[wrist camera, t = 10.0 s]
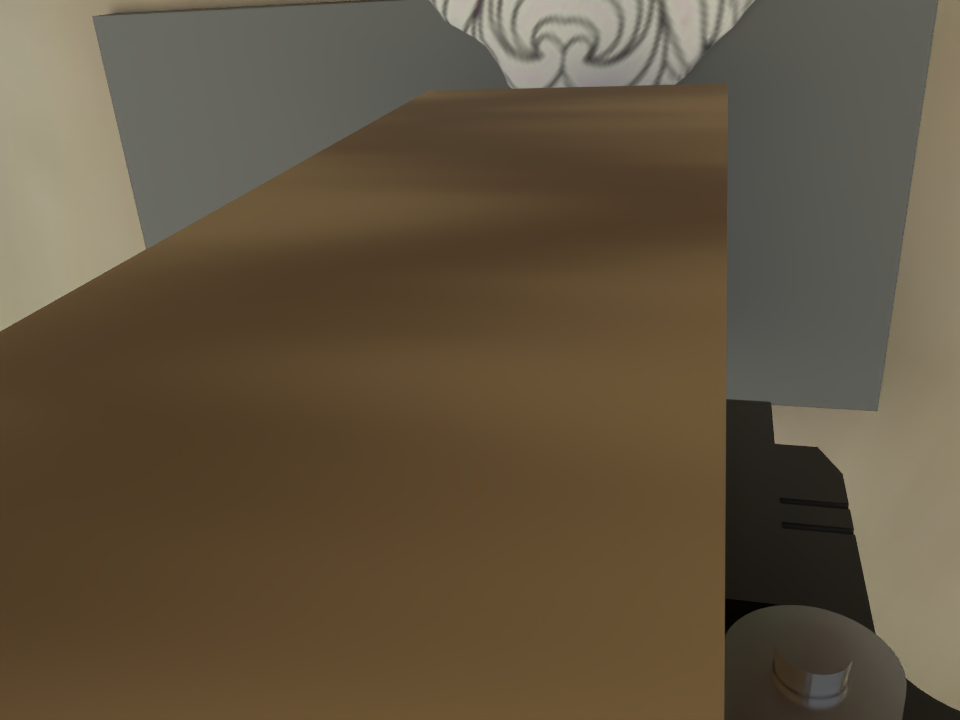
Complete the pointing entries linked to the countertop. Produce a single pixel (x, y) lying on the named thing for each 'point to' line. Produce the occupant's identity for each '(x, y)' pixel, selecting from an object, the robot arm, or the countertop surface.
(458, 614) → the tall wooden block
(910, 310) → the countertop surface
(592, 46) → the cookie jar
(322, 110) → the rubber mat
